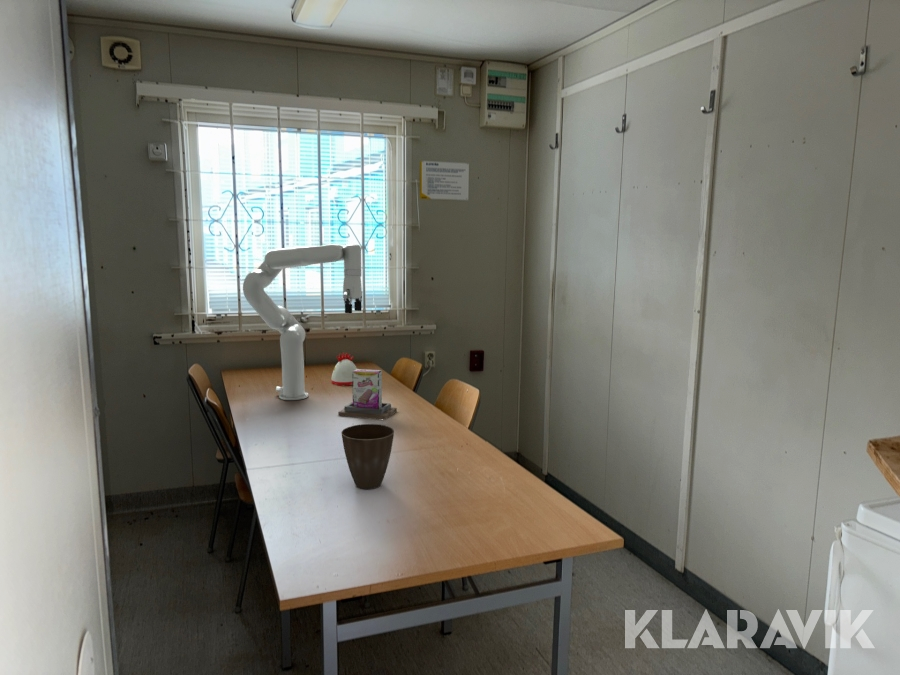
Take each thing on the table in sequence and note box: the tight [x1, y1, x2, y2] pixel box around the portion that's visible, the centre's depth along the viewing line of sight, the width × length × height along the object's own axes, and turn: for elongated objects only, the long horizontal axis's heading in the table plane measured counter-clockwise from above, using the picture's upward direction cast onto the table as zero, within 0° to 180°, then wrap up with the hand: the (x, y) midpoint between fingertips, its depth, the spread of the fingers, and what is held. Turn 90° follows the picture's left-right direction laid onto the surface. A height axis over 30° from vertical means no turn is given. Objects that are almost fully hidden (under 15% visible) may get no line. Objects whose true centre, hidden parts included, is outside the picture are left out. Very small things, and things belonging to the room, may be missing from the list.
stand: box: [338, 401, 398, 421], centre depth 251 cm, size 13×20×4 cm, turn 74°
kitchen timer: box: [330, 352, 358, 386], centre depth 305 cm, size 14×14×15 cm
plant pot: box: [341, 423, 395, 490], centre depth 178 cm, size 15×15×16 cm
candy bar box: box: [352, 368, 383, 409], centre depth 250 cm, size 11×5×16 cm, turn 82°
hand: (353, 311), depth 273 cm, fingers open, 9 cm apart
